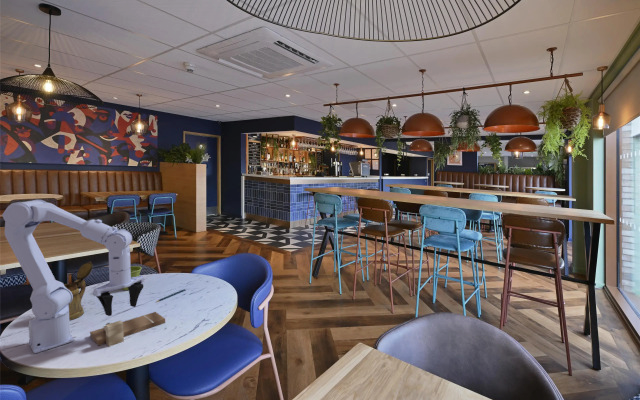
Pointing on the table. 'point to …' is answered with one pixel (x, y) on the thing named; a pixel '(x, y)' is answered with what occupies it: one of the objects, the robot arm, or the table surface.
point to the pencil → (171, 295)
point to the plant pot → (134, 273)
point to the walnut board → (131, 326)
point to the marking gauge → (114, 333)
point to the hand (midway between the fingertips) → (121, 310)
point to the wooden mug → (75, 304)
